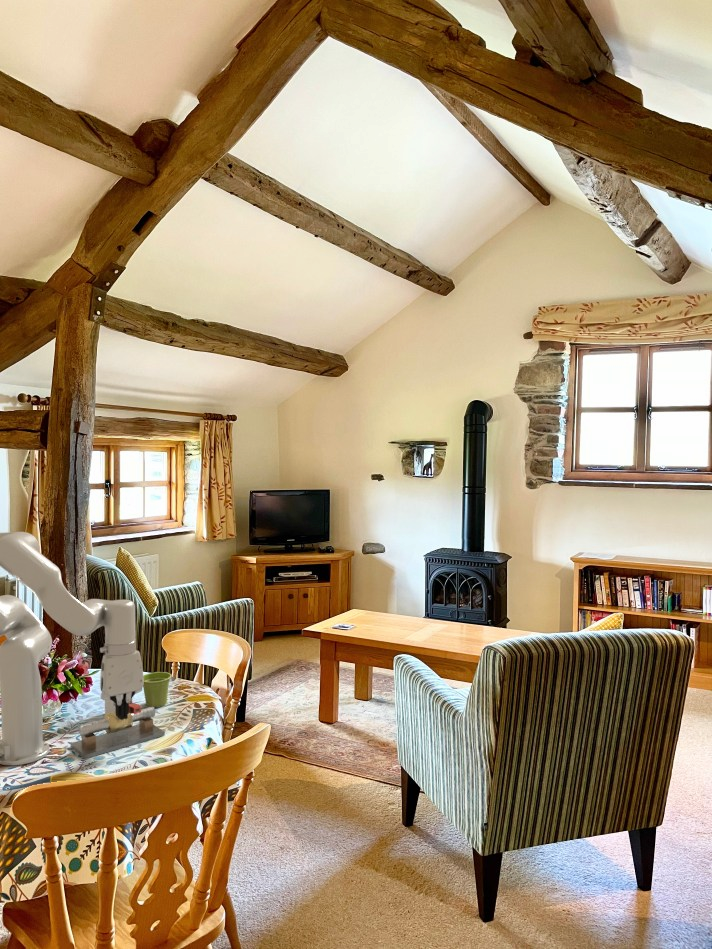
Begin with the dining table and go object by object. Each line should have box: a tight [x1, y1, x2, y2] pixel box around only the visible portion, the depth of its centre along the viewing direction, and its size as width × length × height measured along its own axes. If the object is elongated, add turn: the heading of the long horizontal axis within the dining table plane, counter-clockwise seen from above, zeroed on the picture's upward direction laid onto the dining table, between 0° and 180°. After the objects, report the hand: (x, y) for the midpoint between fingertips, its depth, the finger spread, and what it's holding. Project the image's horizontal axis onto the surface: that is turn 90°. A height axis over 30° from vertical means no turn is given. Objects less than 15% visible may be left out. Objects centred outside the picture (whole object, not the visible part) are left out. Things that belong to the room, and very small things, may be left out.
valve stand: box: [70, 706, 166, 760], centre depth 190 cm, size 22×10×10 cm, turn 131°
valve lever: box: [113, 702, 142, 715], centre depth 188 cm, size 10×2×2 cm, turn 52°
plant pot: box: [142, 671, 172, 708], centre depth 218 cm, size 9×9×9 cm
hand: (122, 717), depth 183 cm, fingers closed
